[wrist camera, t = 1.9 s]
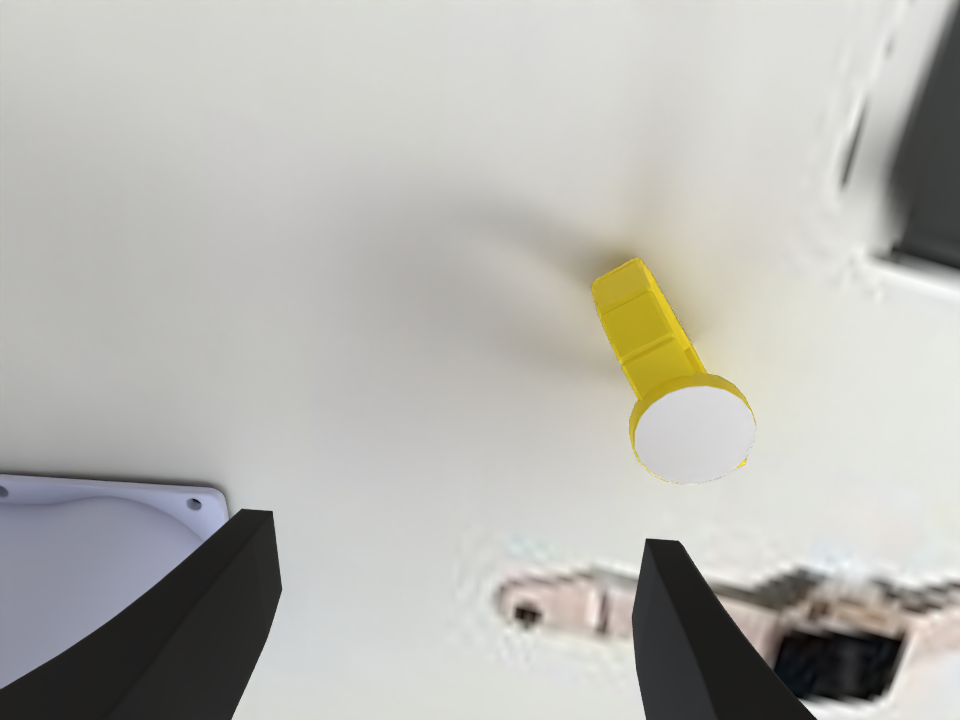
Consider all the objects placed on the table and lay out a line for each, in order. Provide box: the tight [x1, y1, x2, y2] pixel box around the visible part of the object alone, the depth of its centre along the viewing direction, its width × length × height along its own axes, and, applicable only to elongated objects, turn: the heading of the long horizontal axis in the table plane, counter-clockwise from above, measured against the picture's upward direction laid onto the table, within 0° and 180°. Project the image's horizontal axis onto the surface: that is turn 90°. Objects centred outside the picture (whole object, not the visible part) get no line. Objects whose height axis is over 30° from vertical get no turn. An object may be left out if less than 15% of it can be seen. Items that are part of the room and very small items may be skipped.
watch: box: [591, 257, 756, 484], centre depth 19 cm, size 6×3×6 cm, turn 33°
